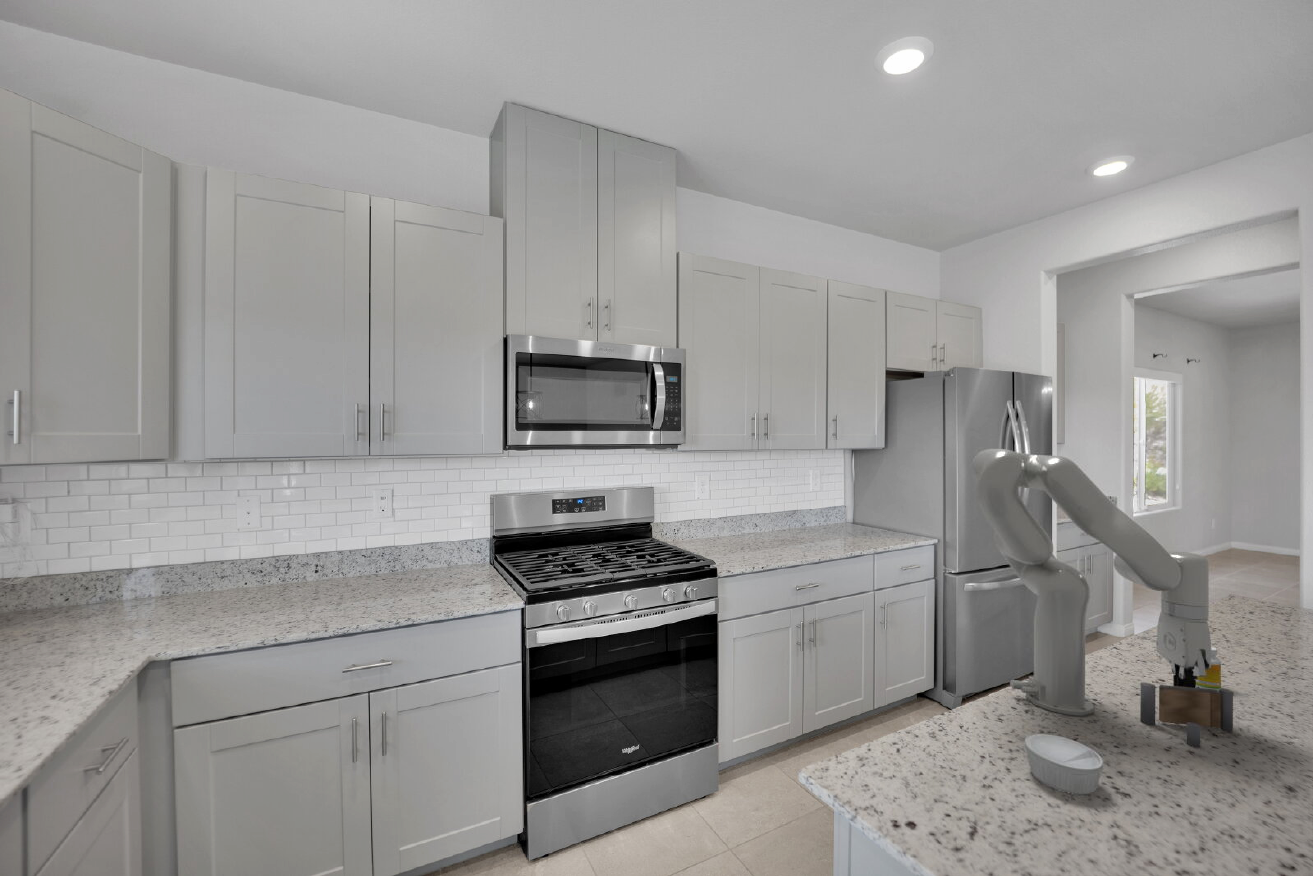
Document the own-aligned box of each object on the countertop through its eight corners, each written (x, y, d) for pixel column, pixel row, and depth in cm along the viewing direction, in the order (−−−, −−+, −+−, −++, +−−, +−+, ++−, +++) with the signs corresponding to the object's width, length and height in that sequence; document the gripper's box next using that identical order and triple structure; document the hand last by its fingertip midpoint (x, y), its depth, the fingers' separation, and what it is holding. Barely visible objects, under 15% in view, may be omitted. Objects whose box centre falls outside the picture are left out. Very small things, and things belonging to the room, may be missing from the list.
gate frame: (1192, 748, 111) (1193, 706, 111) (1137, 720, 122) (1137, 682, 122) (1203, 747, 111) (1203, 706, 111) (1147, 719, 122) (1147, 682, 122)
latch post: (1224, 732, 117) (1224, 692, 118) (1216, 727, 119) (1216, 688, 120) (1235, 733, 117) (1235, 693, 117) (1227, 728, 119) (1228, 689, 119)
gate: (1163, 723, 120) (1163, 686, 120) (1158, 719, 121) (1158, 683, 121) (1220, 728, 118) (1220, 691, 118) (1214, 724, 119) (1214, 688, 119)
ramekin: (1107, 808, 92) (1107, 775, 92) (1025, 786, 98) (1025, 755, 98) (1098, 774, 102) (1098, 745, 102) (1024, 756, 108) (1024, 728, 108)
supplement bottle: (1227, 692, 136) (1227, 652, 136) (1200, 690, 137) (1200, 650, 137) (1210, 683, 142) (1210, 644, 142) (1184, 681, 143) (1185, 642, 143)
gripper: (1142, 600, 132) (1142, 680, 132) (1189, 619, 117) (1189, 709, 117) (1180, 602, 130) (1180, 682, 130) (1232, 622, 116) (1232, 713, 116)
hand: (1184, 695), depth 124 cm, fingers closed
